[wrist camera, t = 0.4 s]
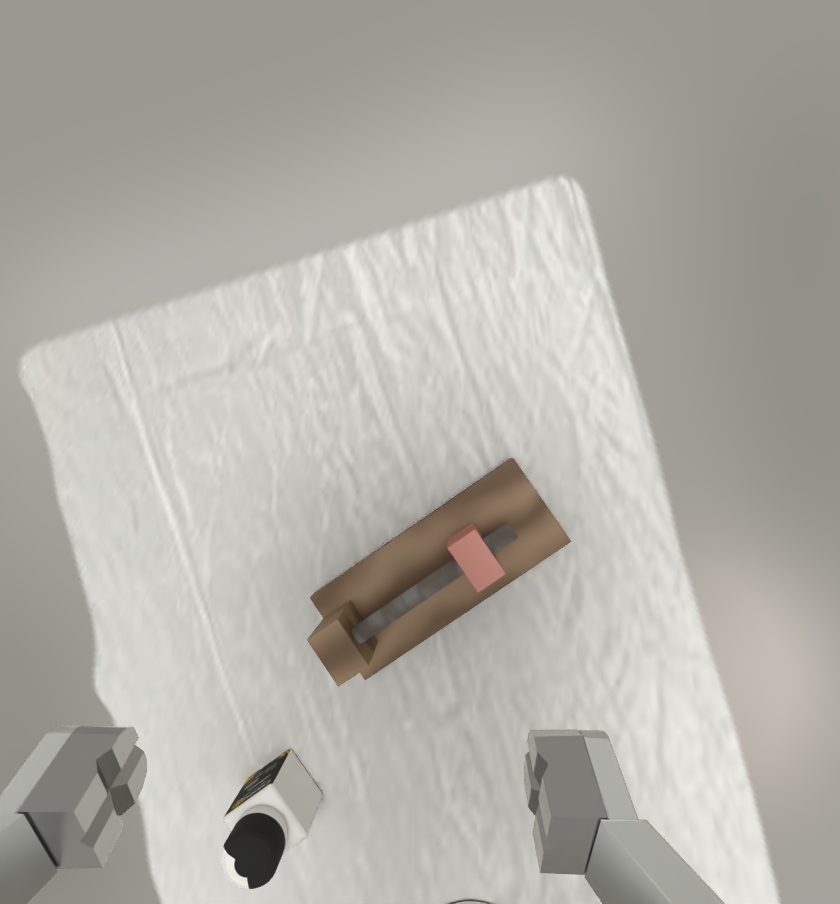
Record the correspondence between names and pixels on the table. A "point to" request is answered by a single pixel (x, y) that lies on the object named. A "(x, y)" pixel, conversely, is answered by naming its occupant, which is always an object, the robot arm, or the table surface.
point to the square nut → (475, 557)
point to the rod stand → (429, 575)
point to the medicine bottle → (268, 820)
